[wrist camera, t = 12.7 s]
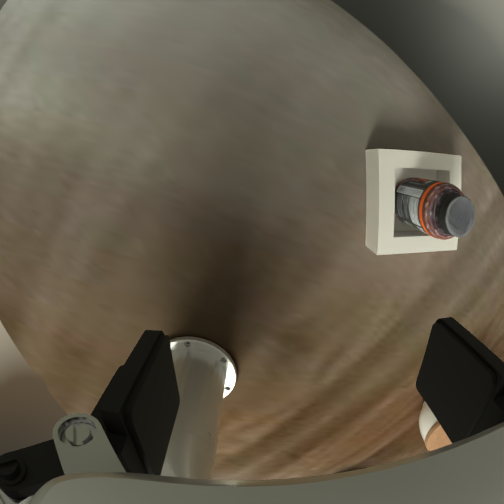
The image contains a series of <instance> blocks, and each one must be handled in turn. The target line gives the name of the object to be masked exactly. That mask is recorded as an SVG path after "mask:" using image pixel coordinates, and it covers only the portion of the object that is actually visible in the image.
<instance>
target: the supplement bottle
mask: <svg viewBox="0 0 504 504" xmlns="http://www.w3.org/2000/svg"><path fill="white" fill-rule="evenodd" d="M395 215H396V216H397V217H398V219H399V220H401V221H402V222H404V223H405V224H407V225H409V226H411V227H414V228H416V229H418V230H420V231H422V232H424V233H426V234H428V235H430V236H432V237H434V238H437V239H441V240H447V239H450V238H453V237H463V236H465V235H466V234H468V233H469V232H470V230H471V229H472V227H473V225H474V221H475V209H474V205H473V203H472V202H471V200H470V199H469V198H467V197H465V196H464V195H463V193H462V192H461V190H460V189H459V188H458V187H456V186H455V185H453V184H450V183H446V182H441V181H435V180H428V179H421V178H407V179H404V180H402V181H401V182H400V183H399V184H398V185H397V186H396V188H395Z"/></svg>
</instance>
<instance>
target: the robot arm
mask: <svg viewBox="0 0 504 504" xmlns="http://www.w3.org/2000/svg"><path fill="white" fill-rule="evenodd" d="M236 377H237V372H236V366H235V364H234V361H233V360H232V358H231V357H230V355H229V354H228V353H227V352H226V351H225V350H224V349H222V348H221V347H220V346H218V345H217V344H215V343H213V342H211V341H209V340H206V339H203V338H198V337H188V336H185V337H177V338H174V339H171V340H170V339H169V336H168V335H164V333H163V331H154V330H145V332H144V333H143V335H142V336H141V338H140V340H139V341H138V343H137V344H136V346H135V348H134V349H133V351H132V353H131V354H130V356H129V358H128V359H127V361H126V363H125V364H124V365H122V366H120V367H119V368H118V370H117V372H116V373H115V375H114V376H113V378H112V380H111V381H110V383H109V385H108V386H107V388H106V390H105V391H104V393H103V395H102V397H101V398H100V400H99V402H98V403H97V405H96V407H95V408H94V410H93V412H92V414H91V415H88V414H85V413H75V414H70V415H68V416H65V417H63V418H62V419H61V420H59V421H58V422H57V424H56V425H55V427H54V429H53V439H52V440H49V441H46V442H42V443H39V444H36V445H33V446H30V447H26V448H23V449H19V450H16V451H13V452H9V453H6V454H3V455H1V456H0V504H504V362H502V361H501V360H500V359H499V358H498V357H497V356H496V355H495V354H494V353H493V352H491V351H490V350H489V349H488V348H487V347H486V346H485V345H484V344H483V343H481V342H480V341H479V340H478V339H477V338H476V337H475V336H473V335H472V334H471V333H470V332H469V331H468V330H466V329H465V328H464V327H463V326H462V325H461V324H459V323H458V322H457V321H456V320H455V319H453V318H452V317H448V318H441V319H438V320H437V321H436V323H435V324H433V326H432V329H431V333H430V337H429V341H428V345H427V348H426V352H425V355H424V359H423V362H422V365H421V368H420V371H419V375H418V378H417V381H416V387H417V390H418V391H419V393H420V394H421V396H422V397H423V399H424V400H425V402H426V403H427V405H428V407H429V408H430V410H431V411H432V413H433V414H434V416H435V417H436V419H437V420H438V422H439V423H440V425H441V427H442V428H443V430H444V431H445V433H446V434H447V436H448V438H449V439H450V441H451V442H452V444H450V445H447V446H444V447H441V448H438V449H435V450H432V451H429V452H426V453H423V454H420V455H416V456H413V457H409V458H406V459H402V460H398V461H395V462H391V463H386V464H382V465H378V466H373V467H369V468H364V469H358V470H353V471H347V472H341V473H335V474H328V475H320V476H312V477H302V478H290V479H273V480H213V475H214V466H215V458H216V450H217V442H218V434H219V427H220V419H221V411H222V403H223V398H224V397H226V396H227V395H228V394H229V393H230V392H231V391H232V390H233V388H234V386H235V383H236Z"/></svg>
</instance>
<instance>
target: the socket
mask: <svg viewBox="0 0 504 504" xmlns="http://www.w3.org/2000/svg"><path fill="white" fill-rule="evenodd" d="M365 155H366V239H365V245H366V246H367V247H368V248H369V249H370V250H372V251H373V252H374V253H375V254H376V255H386V254H401V253H417V252H432V251H446V250H457V242H458V237H453V238H450V239H447V240H441V239H437V238H434V237H432V236H430V235H428V234H426V233H424V232H422V231H420V230H418V229H416V228H414V227H411V226H409V225H407V224H405V223H404V222H402V221H401V220H399V219H398V217H397V216H396V215H395V188H396V186H397V185H398V184H399V183H400V182H401V181H402V180H404V179H407V178H421V179H428V180H435V181H441V182H446V183H450V184H453V185H455V186H456V187H458V188H459V189H460V190H461V156H459V155H450V154H441V153H432V152H421V151H409V150H394V149H368V150H365Z"/></svg>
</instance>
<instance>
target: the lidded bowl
mask: <svg viewBox="0 0 504 504" xmlns="http://www.w3.org/2000/svg"><path fill="white" fill-rule="evenodd" d="M419 427H420V431H421V434H422V437H423V439H424V441H425V445H426V447H427V449H428V450H430V451H432V450H435V449H438V448H441V447H444V446H447V445H450V444H452V442H451V441H450V439H449V438H448V436H447V434H446V433H445V431H444V430H443V428H442V427H441V425H440V423H439V422H438V420H437V419H436V417H435V416H434V414H433V413H432V411H431V410H430V408H429V407H428V405H427V403H426V402H425V401H424V403H423V406H422V410H421V412H420V416H419Z"/></svg>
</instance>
